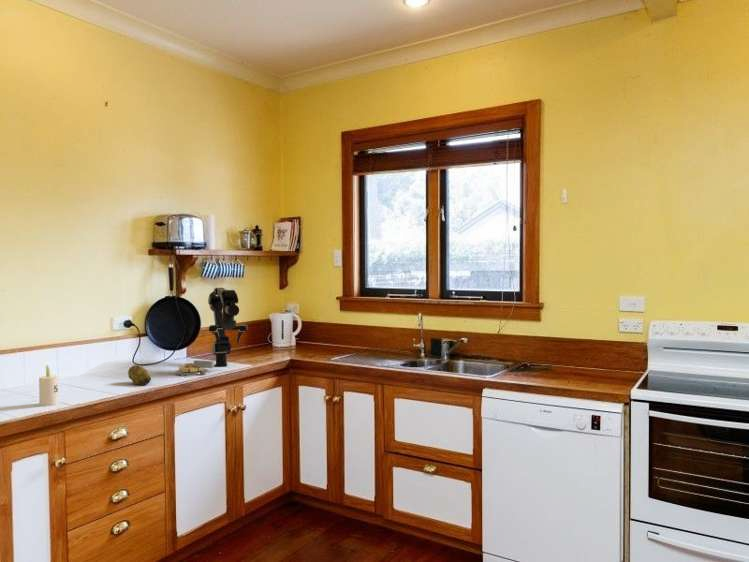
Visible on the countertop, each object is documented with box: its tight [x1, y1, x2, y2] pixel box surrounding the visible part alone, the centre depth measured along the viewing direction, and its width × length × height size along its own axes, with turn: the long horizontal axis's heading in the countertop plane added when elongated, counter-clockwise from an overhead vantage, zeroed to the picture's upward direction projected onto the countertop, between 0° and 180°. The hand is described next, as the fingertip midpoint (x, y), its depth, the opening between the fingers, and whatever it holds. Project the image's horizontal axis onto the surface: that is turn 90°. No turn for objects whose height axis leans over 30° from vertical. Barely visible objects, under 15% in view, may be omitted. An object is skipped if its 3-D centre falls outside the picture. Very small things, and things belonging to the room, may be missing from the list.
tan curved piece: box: [178, 359, 215, 372], centre depth 282 cm, size 18×11×5 cm, turn 75°
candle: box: [38, 365, 59, 407], centre depth 219 cm, size 6×6×15 cm
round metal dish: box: [174, 367, 208, 377], centre depth 282 cm, size 15×15×3 cm
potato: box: [127, 364, 152, 386], centre depth 257 cm, size 8×13×8 cm, turn 33°
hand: (228, 344), depth 290 cm, fingers open, 9 cm apart
